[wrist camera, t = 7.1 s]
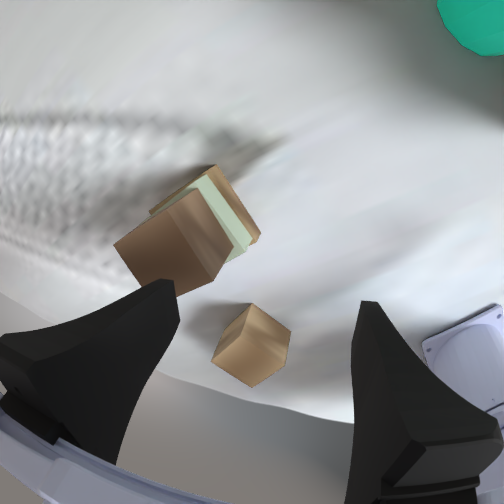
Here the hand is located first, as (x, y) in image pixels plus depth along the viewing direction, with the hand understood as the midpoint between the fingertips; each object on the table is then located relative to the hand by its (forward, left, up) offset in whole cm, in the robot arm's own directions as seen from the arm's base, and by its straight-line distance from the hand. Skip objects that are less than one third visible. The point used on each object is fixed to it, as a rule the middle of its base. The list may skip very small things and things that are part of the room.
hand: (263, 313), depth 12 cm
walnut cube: (+3, +5, -7) cm, 9 cm away
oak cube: (-7, +7, -10) cm, 15 cm away
